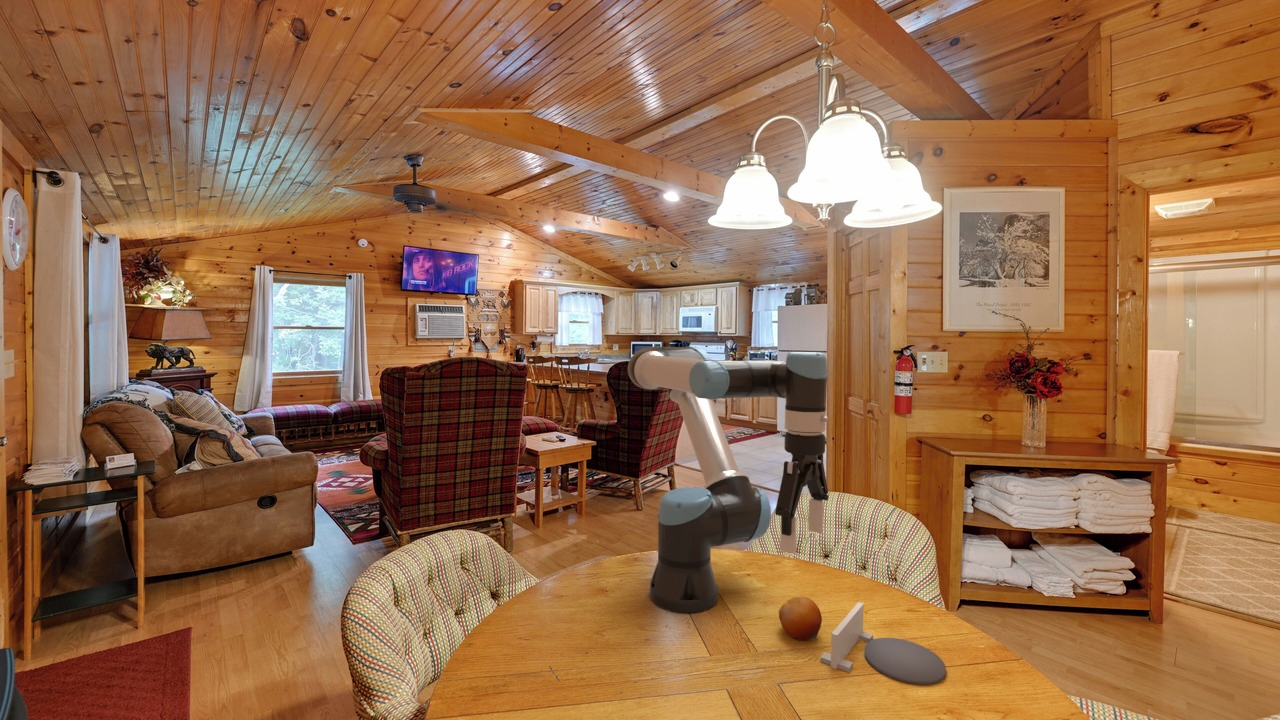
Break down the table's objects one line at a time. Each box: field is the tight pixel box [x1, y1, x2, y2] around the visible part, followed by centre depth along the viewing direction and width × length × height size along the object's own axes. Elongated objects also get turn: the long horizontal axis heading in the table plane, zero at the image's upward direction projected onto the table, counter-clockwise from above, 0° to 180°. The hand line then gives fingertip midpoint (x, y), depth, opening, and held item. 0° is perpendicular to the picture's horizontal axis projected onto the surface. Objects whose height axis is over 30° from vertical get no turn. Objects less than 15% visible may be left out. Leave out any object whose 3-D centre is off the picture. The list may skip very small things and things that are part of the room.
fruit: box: [778, 596, 823, 642], centre depth 105 cm, size 8×8×8 cm
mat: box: [863, 637, 947, 686], centre depth 96 cm, size 13×13×1 cm
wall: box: [820, 601, 874, 673], centre depth 100 cm, size 5×15×6 cm, turn 141°
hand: (802, 541), depth 104 cm, fingers open, 13 cm apart
